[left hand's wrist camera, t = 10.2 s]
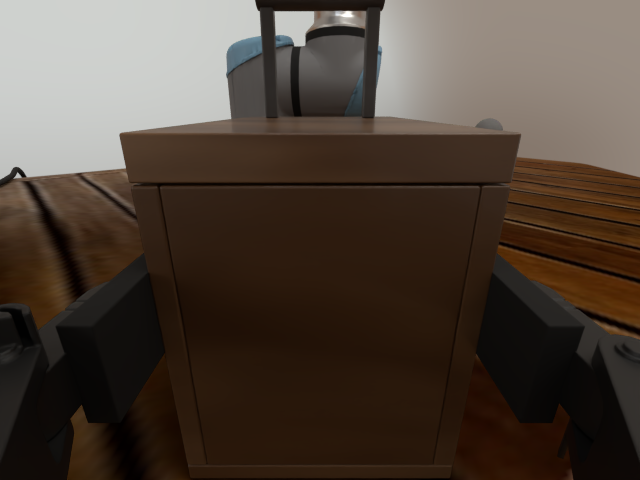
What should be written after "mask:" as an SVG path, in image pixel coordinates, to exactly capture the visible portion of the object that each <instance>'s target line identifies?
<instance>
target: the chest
mask: <svg viewBox="0 0 640 480" xmlns="http://www.w3.org/2000/svg"><path fill="white" fill-rule="evenodd" d="M131 191H132V196H133V201H134V206H135V211H136V215H137V220H138V225H139V230H140V235H141V240H142V245H143V249H144V254H145V259H146V264H147V269H148V274H149V279H150V283H151V288H152V293H153V298H154V303H155V308H156V313H157V318H158V322H159V327H160V332H161V337H162V342H163V347H164V352H165V356H166V361H167V366H168V371H169V376H170V381H171V386H172V390H173V395H174V400H175V405H176V410H177V415H178V420H179V425H180V429H181V434H182V439H183V444H184V449H185V454H186V459H187V463H188V469H189V474H190V478H450V475H451V470H452V465H453V462H454V457H455V452H456V448H457V443H458V438H459V433H460V428H461V423H462V419H463V414H464V409H465V404H466V399H467V394H468V390H469V385H470V380H471V375H472V370H473V365H474V360H475V356H476V350H477V345H478V340H479V335H480V330H481V326H482V321H483V316H484V311H485V306H486V301H487V297H488V292H489V287H490V282H491V277H492V272H493V269H494V264H495V259H496V254H497V249H498V244H499V240H500V235H501V230H502V225H503V220H504V215H505V210H506V206H507V201H508V196H509V191H510V186H509V185H506V184H504V183H138V184H135V185H133V186H132V187H131Z"/></svg>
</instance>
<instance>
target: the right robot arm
mask: <svg viewBox="0 0 640 480" xmlns="http://www.w3.org/2000/svg"><path fill="white" fill-rule="evenodd" d="M275 37H276V61H277V85H278V109H279V117H361V114H362V90H363V66H364V42H365V11H314V24H313V25H312V26H311V27H310V29H309V30H308V31H307V32H306V45H305V46H302V47H294V43H293V41H292V39H291V38H290V37H288V36H284V35H277V36H275ZM381 53H382V48H381V46H378V62H377V81H376V88H377V82H378V77H379V71H380V64H381ZM226 76H227V78H228V88H229V98H230V109H231V119H237V118H245V117H266V113H265V95H264V77H263V59H262V40H261V36H259V37H253V38H248V39H244V40H241V41H238V42H236V43H234V44H233V45H231V46H230V47H229V49H228V51H227V74H226Z"/></svg>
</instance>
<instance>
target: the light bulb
mask: <svg viewBox="0 0 640 480" xmlns="http://www.w3.org/2000/svg"><path fill="white" fill-rule="evenodd" d="M476 128H484V129H492V130H500V131H503V128H502V126H501V124H500V123H499V121H497V120H495V119H484V120H482V121H481V122H479V123H478V124H477V125H476Z"/></svg>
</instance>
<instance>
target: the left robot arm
mask: <svg viewBox="0 0 640 480" xmlns="http://www.w3.org/2000/svg"><path fill="white" fill-rule="evenodd" d="M17 172H18V173H19V174H20V176H21V177H22V178H24V177H27V176H26V175H25V173H24V172H23V171H22V170H21V169H20V168H19V167H14V168H13V169H12V171H11V173H10V174H9V175H8V176H6V177H4V178H2V179H1V180H0V185H3V184H5V183H7V182H8V181H10V180H11V179H13V178H14V177H15V176H16V174H17ZM575 308H576V307H574V306H573V305H572V304H571V303H569V302H568V301H565V299H564V298H563V297H562V296H560V295H559V294H558V293H557V292H555V291H554V290H553V289H551V288H549V287H547V286H545V285H543V284H541V283H538V282H536V281H530V280H529V279H528V278H526V277H525V276H524V275H523V274H521V273H520V272H519V271H518V270H517V269H515V268H514V267H513V266H512V265H511V264H509V263H508V262H507V261H506V260H505V259H503V258H502V257H501V256H500V255H498V254H496V259H495V264H494V269H493V272H492V277H491V282H490V287H489V292H488V297H487V301H486V306H485V311H484V316H483V321H482V326H481V330H480V335H479V340H478V345H477V350H476V354H477V355H478V357H479V359H480V360H481V362H482V363H483V365H484V366H485V368H486V370H487V371H488V373H489V374H490V376H491V378H492V379H493V381H494V382H495V384H496V385H497V387H498V389H499V390H500V392H501V393H502V395H503V396H504V398H505V400H506V401H507V403H508V404H509V406H510V408H511V409H512V411H513V412H514V414H515V415H516V417H517V419H518V420H519V422H520V423H552V422H553V419H554V416H555V413H556V410H557V408H558V405H559V403H560V405H561V406H562V407H563V408H564V410H565V411H566V412H567V413H568V415H569V416H570V420H569V422H568V425H567V428H566V431H565V433H564V436H563V439H562V442H561V444H560V447H559V450H558V456H557V457H560V458H562V459H563V458H564V455H565V453H566V451H567V450H569V455H570V461H571V467H572V474H573V480H640V340H639V339H636V338H632V337H629V336H622V335H616V334H615V335H610V334H609V333H608V332H606V331H605V330H604V329H602V328H601V327H600V326H599V325H597V324H596V323H595V322H594V321H592V320H591V319H590V318H588V317H587V316H586V315H585V314H583V313H582V312H581V311H580V310H576V309H575ZM164 353H165V352H164V347H163V342H162V337H161V332H160V327H159V322H158V318H157V313H156V308H155V303H154V298H153V293H152V288H151V283H150V279H149V274H148V269H147V264H146V259H145V254H144V253H143V254H142V255H141V256H139V257H138V258H137V259H136V260H135V261H133V262H132V263H131V264H130V265H129V266H127V267H126V268H125V269H124V270H123V271H121V272H120V273H119V274H118V275H117V276H115V277H114V278H113V279H112V280H110V281H109V282H105V283H103V284H101V285H98V286H96V287H94V288H92V289H90V290H88V291H87V292H86V293H85V294H83V295H82V296H81V297H79V298H78V299H77V300H76V302H73V303H72V304H71V305H69V306H68V307H67V308H66V309H65V311H62V312H61V313H59V314H58V315H57V316H55V317H54V318H53V319H52V320H50V321H49V322H48V323H47V324H45V325H44V326H43V327H42V328H40V329H39V330H38V329H37V327H36V324H35V321H34V318H33V316H32V313H31V310H30V307H28V306H27V305H25V304H17V303H10V304H3V305H0V480H67V475H68V469H69V462H70V456H71V450H72V443H73V437H74V430H73V425H72V422H71V420H70V418H71V417H72V416H73V415H74V413H75V412H76V411H77V410H78V408H79V407H80V406H81V405H82V406H83V409H84V412H85V415H86V418H87V421H88V423H120V422H121V421H122V419H123V418H124V416H125V414H126V413H127V411H128V410H129V408H130V407H131V405H132V403H133V402H134V400H135V399H136V397H137V396H138V394H139V392H140V391H141V389H142V388H143V386H144V384H145V383H146V381H147V380H148V378H149V377H150V375H151V373H152V372H153V370H154V369H155V367H156V365H157V364H158V362H159V361H160V359H161V358H162V356H163V354H164Z"/></svg>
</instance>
